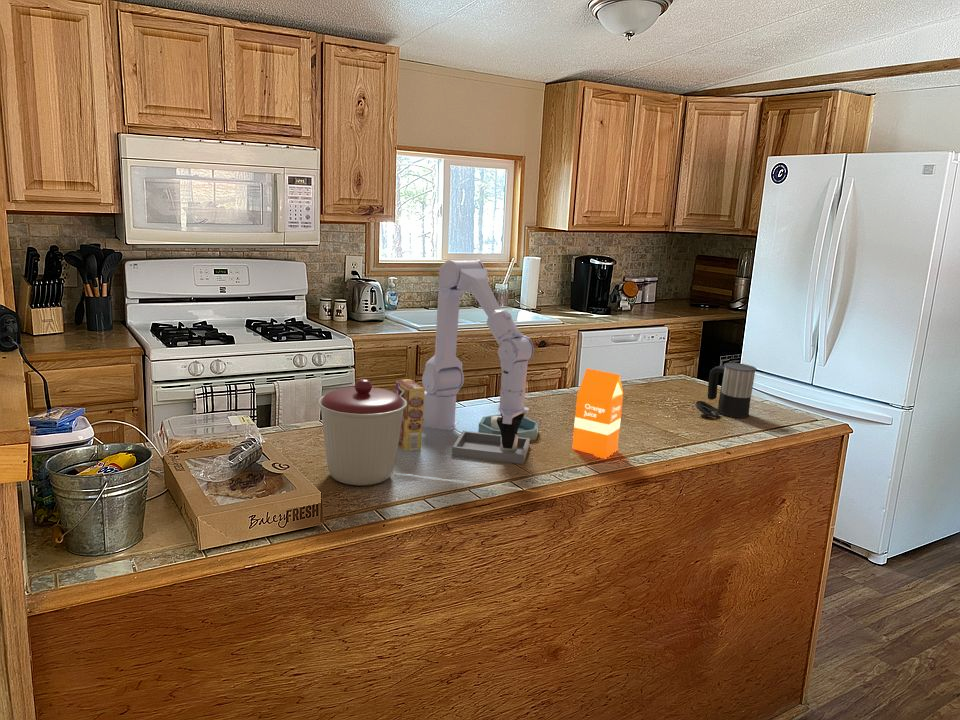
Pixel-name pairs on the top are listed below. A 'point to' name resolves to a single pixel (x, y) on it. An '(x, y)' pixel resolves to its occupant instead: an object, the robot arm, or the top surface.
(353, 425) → the canister
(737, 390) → the milk frother
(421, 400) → the candy box
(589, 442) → the orange juice
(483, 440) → the tray
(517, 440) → the pebble
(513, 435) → the robot arm
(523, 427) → the bowl
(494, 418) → the pebble
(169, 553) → the top surface
